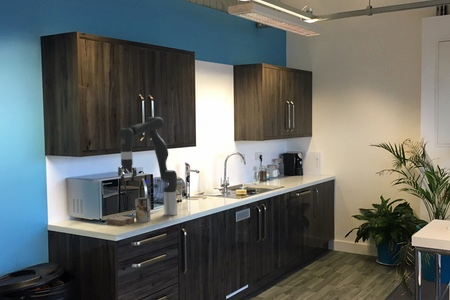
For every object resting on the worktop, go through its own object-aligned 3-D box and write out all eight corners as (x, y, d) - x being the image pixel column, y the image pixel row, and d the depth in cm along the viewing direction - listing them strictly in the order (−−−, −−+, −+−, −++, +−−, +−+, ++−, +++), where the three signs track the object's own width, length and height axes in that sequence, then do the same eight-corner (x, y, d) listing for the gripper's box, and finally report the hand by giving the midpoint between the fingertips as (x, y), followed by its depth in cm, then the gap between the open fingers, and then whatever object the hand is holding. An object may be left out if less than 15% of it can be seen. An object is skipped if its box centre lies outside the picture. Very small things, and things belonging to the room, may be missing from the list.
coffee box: (151, 220, 347) (150, 197, 347) (148, 222, 341) (147, 199, 340) (138, 220, 349) (137, 197, 348) (135, 221, 343) (134, 199, 342)
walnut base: (119, 221, 348) (119, 215, 347) (134, 223, 340) (134, 217, 340) (107, 224, 337) (106, 218, 337) (122, 226, 330) (121, 220, 330)
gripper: (138, 158, 327) (139, 182, 328) (122, 157, 334) (123, 181, 335) (131, 159, 320) (131, 183, 321) (114, 158, 328) (115, 182, 329)
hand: (127, 182), depth 328 cm, fingers open, 8 cm apart
